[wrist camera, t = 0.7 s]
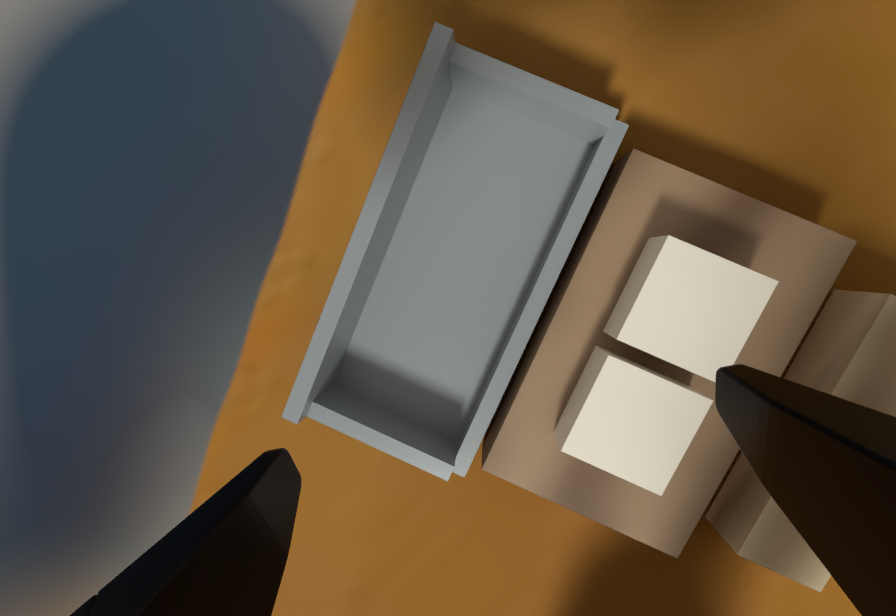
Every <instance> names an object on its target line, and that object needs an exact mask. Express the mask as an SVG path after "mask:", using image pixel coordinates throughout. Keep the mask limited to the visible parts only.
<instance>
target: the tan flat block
mask: <svg viewBox="0 0 896 616" xmlns="http://www.w3.org/2000/svg"><path fill="white" fill-rule="evenodd" d="M666 235H670V236H672V237H674V238H677V239H679V240H682V241H684V242H686V243H689V244H691V245H693V246H696V247H698V248H701V249H703V250H705V251H708V252H710V253H712V254H715V255H717V256H720V257H722V258H724V259H727V260H729V261H731V262H734V263H736V264H739V265H741V266H743V267H746V268H748V269H750V270H753V271H755V272H757V273H760V274H762V275H765V276H767V277H769V278H772V279H774V280H776V281H779V282H778V284H777V286H776V287H775V289H774V291H773V293H772V295H771V297H770V298H769V300H768V302H767V304H766V306H765V308H764V309H763V311H762V313H761V315H760V317H759V319H758V320H757V322H756V324H755V326H754V328H753V329H752V331H751V333H750V335H749V337H748V339H747V340H746V342H745V344H744V346H743V348H742V350H741V351H740V353H739V355H738V357H737V359H736V361H735V362H734V364H733V365H735V364H743V365H746V366H749V367H752V368H755V369H758V370H761V371H764V372H767V373H770V374H773V375H775V376H778V377H781V375H782V373H783V372H784V370H785V368H786V366H787V365H788V363H789V361H790V359H791V357H792V356H793V354H794V352H795V350H796V349H797V347H798V345H799V343H800V342H801V340H802V338H803V336H804V335H805V333H806V331H807V329H808V327H809V326H810V324H811V322H812V320H813V319H814V317H815V315H816V313H817V312H818V310H819V308H820V306H821V305H822V303H823V301H824V299H825V297H826V296H827V294H828V292H829V290H830V289H831V287H832V285H833V283H834V282H835V280H836V278H837V276H838V275H839V273H840V271H841V269H842V267H843V266H844V264H845V262H846V260H847V259H848V257H849V255H850V253H851V252H852V250H853V248H854V246H855V245H856V243H857V241H856V240H853V239H851V238H849V237H846V236H844V235H841V234H839V233H837V232H834V231H832V230H829V229H827V228H824V227H822V226H820V225H817V224H815V223H812V222H810V221H808V220H805V219H803V218H800V217H798V216H795V215H793V214H791V213H788V212H786V211H783V210H781V209H779V208H776V207H774V206H771V205H769V204H767V203H764V202H762V201H759V200H757V199H754V198H752V197H750V196H747V195H745V194H742V193H740V192H738V191H735V190H733V189H730V188H728V187H725V186H723V185H721V184H718V183H716V182H713V181H711V180H709V179H706V178H704V177H701V176H699V175H696V174H694V173H692V172H689V171H687V170H684V169H682V168H680V167H677V166H675V165H672V164H670V163H667V162H665V161H663V160H660V159H658V158H655V157H653V156H651V155H648V154H646V153H643V152H641V151H638V150H636V149H634V148H633V149H632V150H631V151H630V152H628V153H627V154H626V155H624V156H623V157H622V158H621V159H619V160H618V161H617V162H616V163H615V165H614V167H613V169H612V171H611V173H610V175H609V178H608V180H607V182H606V184H605V186H604V188H603V190H602V193H601V195H600V197H599V199H598V201H597V203H596V205H595V207H594V210H593V212H592V214H591V216H590V218H589V220H588V222H587V225H586V227H585V229H584V231H583V233H582V235H581V237H580V239H579V242H578V244H577V246H576V248H575V250H574V252H573V254H572V257H571V259H570V261H569V263H568V265H567V267H566V269H565V271H564V274H563V276H562V278H561V280H560V282H559V284H558V286H557V289H556V291H555V293H554V295H553V297H552V299H551V301H550V303H549V306H548V308H547V310H546V312H545V314H544V316H543V318H542V320H541V323H540V325H539V327H538V329H537V331H536V333H535V335H534V338H533V340H532V342H531V344H530V346H529V348H528V350H527V352H526V355H525V357H524V359H523V361H522V363H521V365H520V367H519V370H518V372H517V374H516V376H515V378H514V380H513V382H512V384H511V387H510V389H509V391H508V393H507V395H506V397H505V399H504V402H503V404H502V406H501V408H500V410H499V412H498V414H497V416H496V419H495V421H494V423H493V425H492V427H491V429H490V431H489V434H488V436H487V438H486V440H485V442H484V444H483V446H482V470H484V471H486V472H489V473H491V474H493V475H495V476H497V477H500V478H502V479H504V480H506V481H508V482H511V483H513V484H515V485H517V486H519V487H521V488H524V489H526V490H528V491H530V492H532V493H535V494H537V495H539V496H541V497H543V498H546V499H548V500H550V501H552V502H554V503H557V504H559V505H561V506H563V507H565V508H568V509H570V510H572V511H574V512H576V513H578V514H581V515H583V516H585V517H587V518H589V519H592V520H594V521H596V522H598V523H600V524H603V525H605V526H607V527H609V528H611V529H614V530H616V531H618V532H620V533H622V534H624V535H627V536H629V537H631V538H633V539H635V540H638V541H640V542H642V543H644V544H646V545H649V546H651V547H653V548H655V549H657V550H660V551H662V552H664V553H666V554H668V555H670V556H673V557H675V558H677V559H678V557H679V555H680V553H681V552H682V550H683V548H684V546H685V544H686V543H687V541H688V539H689V537H690V536H691V534H692V532H693V530H694V529H695V527H696V525H697V523H698V522H699V520H700V518H701V516H702V514H703V513H704V511H705V509H706V507H707V506H708V504H709V502H710V500H711V499H712V497H713V495H714V493H715V492H716V490H717V488H718V486H719V484H720V483H721V481H722V479H723V477H724V476H725V474H726V472H727V470H728V469H729V467H730V465H731V463H732V462H733V460H734V458H735V456H736V454H737V453H738V451H739V449H740V448H739V446H738V445H737V443H736V441H735V440H734V438H733V436H732V435H731V433H730V431H729V430H728V428H727V427H726V425H725V423H724V422H723V420H722V418H721V417H720V415H719V413H718V411H717V409H716V405H715V382H713V381H711V380H709V379H706V378H704V377H702V376H699V375H697V374H695V373H692V372H690V371H688V370H686V369H683V368H681V367H679V366H676V365H674V364H672V363H670V362H667V361H665V360H663V359H660V358H658V357H656V356H653V355H651V354H649V353H647V352H644V351H642V350H640V349H637V348H635V347H633V346H630V345H628V344H626V343H624V342H621V341H619V340H617V339H615V338H613V337H612V336H610V335H608V334H607V333H605V332H603V330H604V328H605V326H606V324H607V322H608V320H609V318H610V316H611V314H612V312H613V310H614V308H615V306H616V304H617V302H618V300H619V298H620V296H621V294H622V292H623V289H624V287H625V285H626V283H627V281H628V279H629V277H630V275H631V273H632V271H633V269H634V267H635V265H636V263H637V261H638V259H639V257H640V255H641V253H642V251H643V249H644V247H645V245H646V243H647V241H648V239H649V238H652V237H659V236H666ZM596 345H597V346H599V347H601V348H603V349H606V350H608V351H610V352H613V353H615V354H617V355H619V356H622V357H624V358H626V359H629V360H631V361H633V362H635V363H638V364H640V365H642V366H645V367H647V368H649V369H651V370H654V371H656V372H658V373H661V374H663V375H665V376H667V377H670V378H672V379H674V380H677V381H679V382H681V383H683V384H686V385H688V386H690V387H692V388H693V389H695V390H697V391H698V392H700V393H702V394H703V395H705V396H706V397H708V398H710V399H711V400H713V403H712V404H711V406H710V408H709V410H708V412H707V414H706V415H705V417H704V419H703V421H702V423H701V425H700V426H699V428H698V430H697V432H696V434H695V436H694V437H693V439H692V441H691V443H690V445H689V447H688V448H687V450H686V452H685V454H684V456H683V457H682V459H681V461H680V463H679V465H678V467H677V468H676V470H675V472H674V474H673V476H672V478H671V479H670V481H669V483H668V485H667V487H666V489H665V490H664V492H663V494H662V496H660V495H658V494H655V493H653V492H651V491H649V490H646V489H644V488H642V487H640V486H638V485H635V484H633V483H631V482H629V481H627V480H624V479H622V478H620V477H618V476H615V475H613V474H611V473H609V472H607V471H604V470H602V469H600V468H598V467H595V466H593V465H591V464H589V463H587V462H584V461H582V460H580V459H578V458H575V457H573V456H571V455H569V454H567V453H564V452H562V451H561V450H560V448H559V445H558V442H557V440H556V437H555V435H554V432H553V431H554V429H555V427H556V425H557V423H558V421H559V419H560V417H561V415H562V413H563V411H564V409H565V407H566V405H567V403H568V401H569V399H570V397H571V395H572V393H573V391H574V389H575V387H576V385H577V383H578V381H579V379H580V377H581V375H582V373H583V371H584V369H585V367H586V365H587V362H588V360H589V358H590V356H591V354H592V352H593V350H594V348H595V346H596Z"/></svg>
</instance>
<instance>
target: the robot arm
mask: <svg viewBox="0 0 896 616" xmlns="http://www.w3.org/2000/svg"><path fill="white" fill-rule="evenodd" d="M715 405H716V409H717V411H718V413H719V415H720V417H721V418H722V420H723V422H724V423H725V425H726V427H727V428H728V430H729V431H730V433H731V435H732V436H733V438H734V440H735V441H736V443H737V445H738V446H739V448H740V450H741V451H742V453H743V454H744V456H745V458H746V459H747V461H748V463H749V464H750V466H751V468H752V469H753V471H754V472H755V474H756V475H757V477H758V479H759V480H760V482H761V483H762V485H763V486H764V487H765V489H766V490H767V491H768V493H769V494H770V496H771V497H772V498H773V500H774V501H775V502H776V504H777V505H778V506H779V507H780V509H781V510H782V511H783V513H784V514H785V515H786V517H787V518H788V519H789V521H790V522H791V523H792V524H793V526H794V527H795V528H796V530H797V531H798V532H799V534H800V535H801V536H802V538H803V539H804V540H805V542H806V543H807V544H808V545H809V547H810V548H811V549H812V551H813V552H814V553H815V555H816V556H817V557H818V559H819V560H820V561H821V563H822V564H823V565H824V566H825V568H826V569H827V570H828V572H829V573H830V574H831V576H832V577H833V578H834V580H835V581H836V582H837V584H838V585H839V586H840V587H841V589H842V590H843V591H844V593H845V594H846V595H847V597H848V598H849V599H850V601H851V602H852V603H853V605H854V606H855V607H856V608H857V610H858V611H859V612H860V614H861V615H862V616H896V417H895V416H892V415H889V414H886V413H883V412H880V411H877V410H874V409H871V408H869V407H866V406H863V405H860V404H857V403H854V402H851V401H848V400H845V399H842V398H839V397H837V396H834V395H831V394H828V393H825V392H822V391H819V390H816V389H813V388H810V387H807V386H805V385H802V384H799V383H796V382H793V381H790V380H787V379H784V378H781V377H778V376H775V375H773V374H770V373H767V372H764V371H761V370H758V369H755V368H752V367H749V366H746V365H743V364H735V365H729V366H724V367H720V368H719V369H718V370H717V371H716V380H715ZM300 490H301V476H300V473H299V471H298V469H297V468H296V466H295V464H294V462H293V460H292V458H291V456H290V454H289V452H288V451H287V450H286V449H284V448H279V449H273V450H268V451H266V452H264V453H263V454H261V455H260V456H259V457H258V458H257V459H255V460H254V461H253V462H252V463H251V464H250V465H248V466H247V467H246V468H245V469H244V470H242V471H241V472H240V473H239V474H238V475H236V476H235V477H234V478H233V479H232V480H230V481H229V482H228V483H227V484H226V485H225V486H223V487H222V488H221V489H220V490H219V491H217V492H216V493H215V494H214V495H213V496H211V497H210V498H209V499H208V500H207V501H206V502H204V503H203V504H202V505H201V506H200V507H198V508H197V509H196V510H195V511H194V512H192V513H191V514H190V515H189V516H188V517H186V518H185V519H184V520H183V521H182V522H181V523H179V524H178V525H177V526H176V527H175V528H173V529H172V530H171V531H170V532H169V533H167V534H166V535H165V536H164V537H163V538H162V539H160V540H159V541H158V542H157V543H156V544H155V545H153V546H152V547H151V548H150V549H148V550H147V551H146V552H145V553H144V554H143V555H141V556H140V557H139V558H138V559H137V560H135V561H134V562H133V563H132V564H131V565H129V566H128V567H127V568H126V569H125V570H123V571H122V572H121V573H120V574H119V575H118V576H116V577H115V578H114V579H113V580H112V581H110V582H109V583H108V584H107V585H106V586H105V587H103V588H102V589H101V590H100V591H99V592H98V595H94V596H92V597H91V598H90V599H89V600H88V601H86V602H85V603H84V604H83V605H82V606H81V607H79V608H78V609H77V610H76V611H75V612H73V613H72V614H71V615H70V616H271V614H272V611H273V607H274V604H275V600H276V597H277V594H278V590H279V587H280V583H281V580H282V576H283V573H284V569H285V565H286V561H287V558H288V553H289V549H290V544H291V539H292V533H293V528H294V522H295V517H296V512H297V506H298V501H299V495H300Z"/></svg>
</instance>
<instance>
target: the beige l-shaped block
mask: <svg viewBox="0 0 896 616" xmlns="http://www.w3.org/2000/svg"><path fill="white" fill-rule="evenodd" d="M784 379H787V380H790V381H793V382H796V383H799V384H802V385H805V386H807V387H810V388H813V389H816V390H819V391H822V392H825V393H828V394H831V395H834V396H837V397H839V398H842V399H845V400H848V401H851V402H854V403H857V404H860V405H863V406H866V407H869V408H871V409H874V410H877V411H880V412H883V413H886V414H889V415H892V416H895V417H896V296H895V295H892V294H886V293H874V292H861V291H848V290H836V289H834V290H833V292H832V294H831V296H830V297H829V299H828V301H827V303H826V304H825V306H824V308H823V310H822V311H821V313H820V315H819V317H818V318H817V320H816V322H815V324H814V326H813V327H812V329H811V331H810V333H809V334H808V336H807V338H806V340H805V341H804V343H803V345H802V347H801V348H800V350H799V352H798V354H797V355H796V357H795V359H794V361H793V363H792V364H791V366H790V368H789V370H788V371H787V373H786V375H785V377H784ZM705 518H706V519H707V520H708V521H709V523H710V524H711V525H712V526H713V527H714V528H715V530H716V531H717V532H718V533H719V534H720V535H721V537H722V538H723V539H724V540H725V541H726V542H727V544H728V545H729V546H730V547H731V548H732V549H733V551H734V552H735V553H736V554H737V555H739V556H741V557H743V558H745V559H748V560H750V561H752V562H754V563H757V564H759V565H761V566H763V567H765V568H768V569H770V570H772V571H774V572H776V573H779V574H781V575H783V576H785V577H788V578H790V579H792V580H794V581H796V582H799V583H801V584H803V585H805V586H807V587H810V588H812V589H814V590H816V591H819V592H821V591H822V589H823V588H824V586H825V585H826V583H827V581H828V580H829V578H830V577H831V574H830V573H829V572H828V570H827V569H826V568H825V566H824V565H823V564H822V563H821V561H820V560H819V559H818V557H817V556H816V555H815V553H814V552H813V551H812V549H811V548H810V547H809V545H808V544H807V543H806V542H805V540H804V539H803V538H802V536H801V535H800V534H799V532H798V531H797V530H796V528H795V527H794V526H793V524H792V523H791V522H790V521H789V519H788V518H787V517H786V515H785V514H784V513H783V511H782V510H781V509H780V507H779V506H778V505H777V504H776V502H775V501H774V500H773V498H772V497H771V496H770V494H769V493H768V491H767V490H766V489H765V487H764V486H763V485H762V483H761V482H760V480H759V479H758V477H757V475H756V474H755V472H754V471H753V469H752V468H751V466H750V464H749V463H748V461H747V459H746V458H745V456H744V454H743V453H742V452H741V454H740V456H739V458H738V459H737V461H736V463H735V465H734V467H733V468H732V470H731V472H730V474H729V475H728V477H727V479H726V481H725V482H724V484H723V486H722V488H721V489H720V491H719V493H718V495H717V496H716V498H715V500H714V502H713V504H712V505H711V507H710V509H709V511H708V512H707V514H706V516H705Z"/></svg>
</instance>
